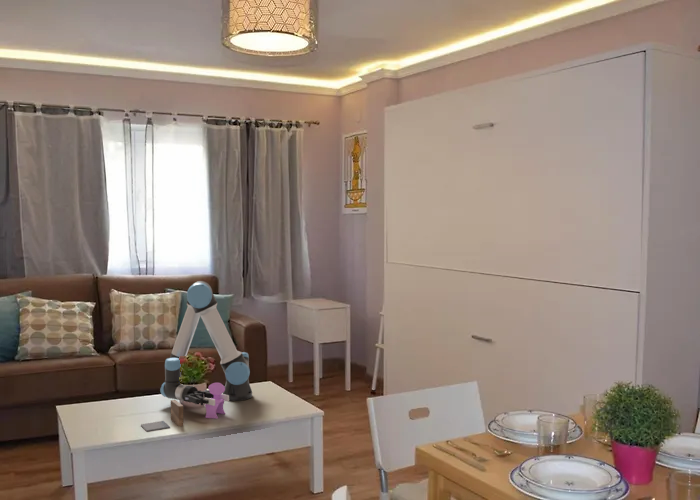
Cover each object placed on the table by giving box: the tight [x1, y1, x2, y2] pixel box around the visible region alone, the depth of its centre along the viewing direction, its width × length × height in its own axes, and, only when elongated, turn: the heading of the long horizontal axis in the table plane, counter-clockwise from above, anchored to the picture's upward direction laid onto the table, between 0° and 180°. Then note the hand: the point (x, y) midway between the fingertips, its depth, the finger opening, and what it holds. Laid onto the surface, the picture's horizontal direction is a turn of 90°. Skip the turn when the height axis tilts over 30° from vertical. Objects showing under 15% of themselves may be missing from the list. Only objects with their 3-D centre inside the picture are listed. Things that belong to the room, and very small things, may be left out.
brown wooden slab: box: [170, 399, 184, 427], centre depth 297 cm, size 2×12×9 cm, turn 32°
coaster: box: [140, 420, 171, 432], centre depth 292 cm, size 10×10×1 cm
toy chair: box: [204, 382, 226, 420], centre depth 308 cm, size 8×9×15 cm
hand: (221, 400), depth 305 cm, fingers closed on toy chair, 8 cm apart
